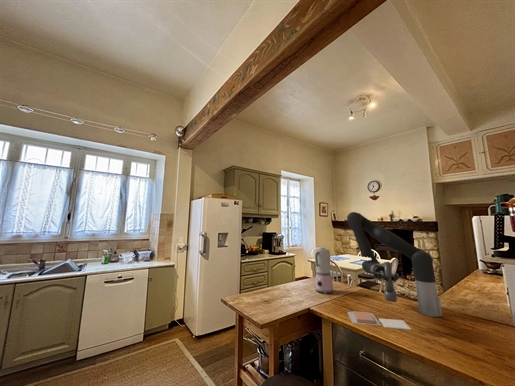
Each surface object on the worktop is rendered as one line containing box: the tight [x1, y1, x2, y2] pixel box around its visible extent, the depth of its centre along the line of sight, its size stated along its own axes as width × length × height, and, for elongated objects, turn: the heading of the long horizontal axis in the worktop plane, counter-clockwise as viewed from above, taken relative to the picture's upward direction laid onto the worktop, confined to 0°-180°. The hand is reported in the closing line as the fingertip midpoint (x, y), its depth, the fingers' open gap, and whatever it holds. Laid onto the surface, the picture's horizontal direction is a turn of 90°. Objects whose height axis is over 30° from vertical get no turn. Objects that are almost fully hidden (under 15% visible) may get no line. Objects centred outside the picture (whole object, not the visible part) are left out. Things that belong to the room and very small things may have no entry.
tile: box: [352, 310, 375, 325], centre depth 108 cm, size 8×2×10 cm
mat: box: [347, 311, 381, 326], centre depth 109 cm, size 13×14×1 cm
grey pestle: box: [383, 261, 398, 303], centre depth 105 cm, size 5×5×18 cm
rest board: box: [378, 318, 412, 331], centre depth 101 cm, size 11×9×1 cm
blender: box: [314, 246, 334, 295], centre depth 156 cm, size 16×12×32 cm
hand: (391, 279), depth 102 cm, fingers closed on grey pestle, 3 cm apart
